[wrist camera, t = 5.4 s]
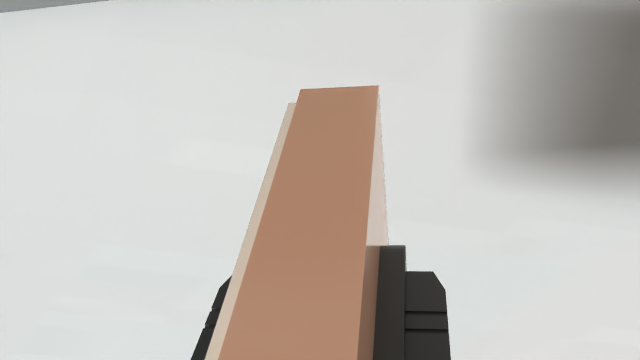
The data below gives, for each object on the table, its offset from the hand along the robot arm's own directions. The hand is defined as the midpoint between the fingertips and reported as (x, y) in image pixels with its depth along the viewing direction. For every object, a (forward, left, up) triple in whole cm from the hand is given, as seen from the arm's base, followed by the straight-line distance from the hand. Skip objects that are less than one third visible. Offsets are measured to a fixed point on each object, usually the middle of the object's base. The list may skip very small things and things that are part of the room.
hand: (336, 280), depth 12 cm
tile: (0, 0, -2) cm, 2 cm away
